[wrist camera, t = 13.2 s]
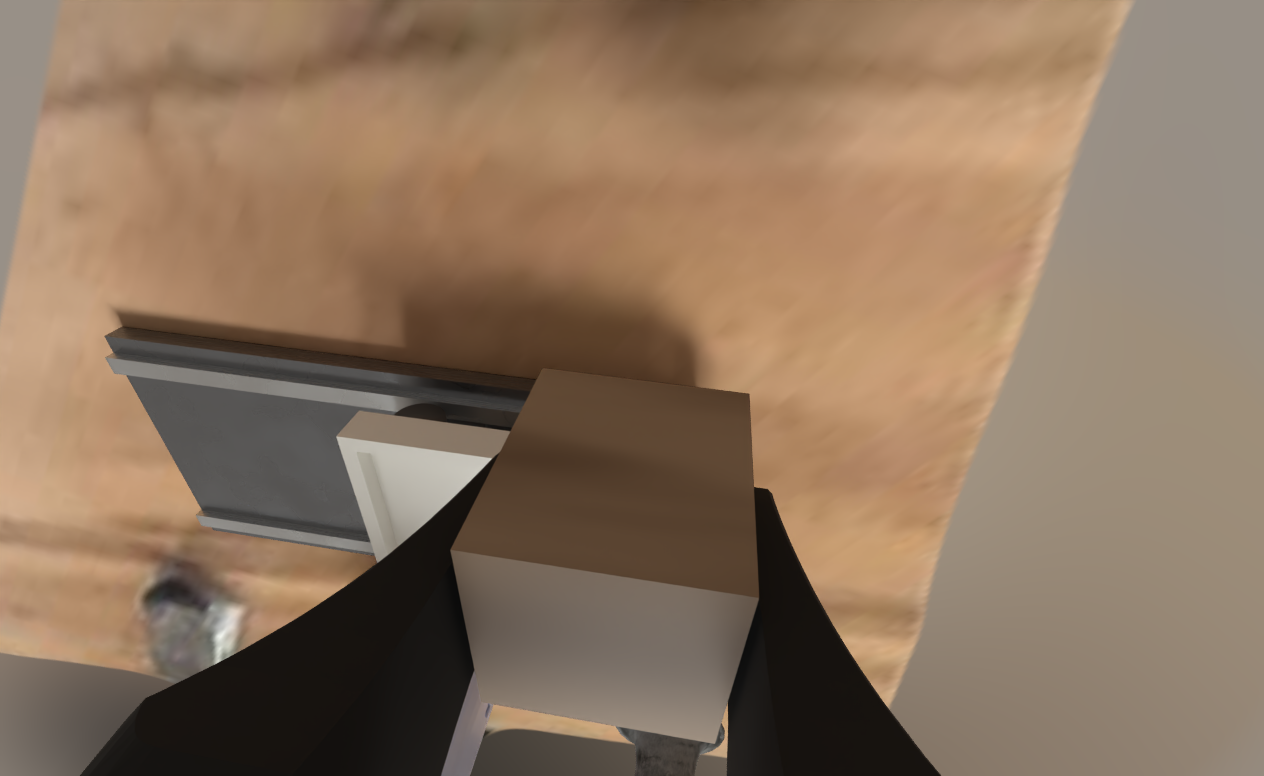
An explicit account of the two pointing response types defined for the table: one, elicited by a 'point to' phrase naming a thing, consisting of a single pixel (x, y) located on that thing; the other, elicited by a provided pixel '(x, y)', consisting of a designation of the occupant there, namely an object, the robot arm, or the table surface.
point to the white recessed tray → (410, 467)
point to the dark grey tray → (286, 425)
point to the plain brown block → (614, 555)
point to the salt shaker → (667, 752)
